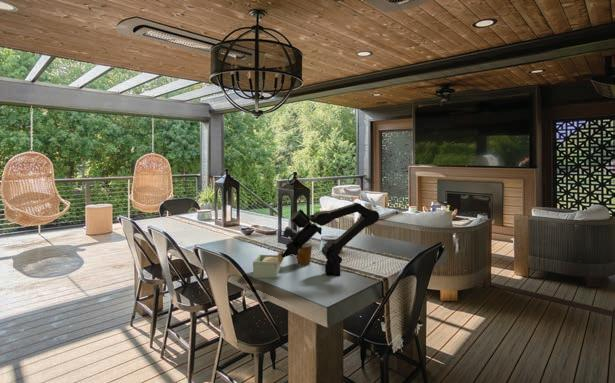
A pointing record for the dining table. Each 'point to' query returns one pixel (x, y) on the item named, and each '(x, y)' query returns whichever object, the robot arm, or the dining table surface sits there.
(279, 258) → the lid
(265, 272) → the box
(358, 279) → the dining table surface
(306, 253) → the disposable coffee cup
